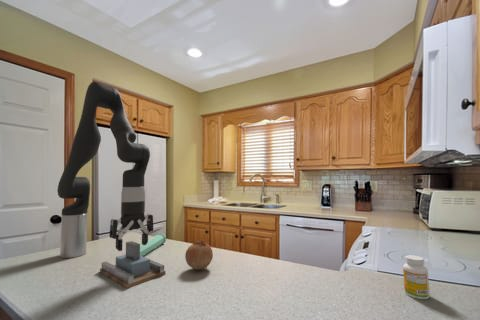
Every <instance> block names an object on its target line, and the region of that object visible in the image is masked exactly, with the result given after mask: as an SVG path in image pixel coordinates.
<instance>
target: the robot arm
mask: <svg viewBox="0 0 480 320" xmlns="http://www.w3.org/2000/svg"><path fill="white" fill-rule="evenodd" d="M84 96H85V97H84V101H83V106H82V111H81V116H80V119H79V123H78V126H77V130H76V132H75V135H74V138H73V142H72V144H71V148H70V151H69V156H68V160H67V162H66V164H65V167H64V170H63V172H62V174H61V177H60V179H59V181H58V185H57V196H58V197H59V198H61V199H75V201H74V202H73V203H71V204H70V205H68V206H67V205H66V206H65V207H63V208H62V209H61V221H60V222H61V227H60V248H59V249H60V250H59V251H60V252H59V253H60V254H59V255H60V256H59V257H60V258H61V259H68V258H69V259H70V258H76V257H80V256H83V255H86V254H87V243H88V241H87V239H88V238H87V237H88V211H89V210H88V209H89V207H90V206H89V205H90V194H91V182H90V179H89V178H87V177H86V176H77V175H78V173H79V172H80V171H81V169H82V168H83V167H85V165H86V164H88V163H89V162H90V161H91V160H92V159H93V158H94V157H95V156H96V155H97V153H98V151H99V148H100V145H101V141H102V136H101V133H100V130H99V126H98V125H97V124H98V123H97V122H96V111H97V108H103V109H106V110H110V111H111V113H112V117H111V118H110V120H109V121H110V122H109V129H110V131H111V133H112V135H113V138H114V140H115V142H116V143H115V144H116V155H117V157H118V159H119V160H120V161H121V162H123V163H127V164H128V163H131V164H134V165H133V167H132V168H131V169H127V170H125V171H123V173H122V190H121V193H120V194H121V197H120V199H121V200H120V201H121V203H120V204H121V206H120V218H118V219H114V218H112V219H111V220H110V226H109V235H108V236H109V238H110V239H114V240H115V249H116V250H117V251H118V252H122V251H123V242H124V241H123V237H124V236H125V234H127V233H128V231H129V232H131V231H133V230H139V231H141V244H142V245H146V244H147V243H148V240H149V233H151V232H153V231H154V215H153V214H149V213H147V214H146V215H145V212H146V211H145V208H146V202H145V201H146V191H145V175H146V171H147V168H148V165H149V162H150V157H151V152H150V148H149V147H148V146H147V145H146V144H144V143H138V142H137V143H136V140H137V135H136V132H135V129H133V126H132V125H131V122H130V121H129V119H128V117H127V114H126V110H125V106H124V105H125V104H124V103H123V99H122V97H121V93H120V92H119V90H118V89H117V88H115V87H112V86H111V85H106V84H104V83H101V82H98V81H92V82H90V84H89V85H88V86H87V89H86V92H85V95H84ZM144 222H146V225H145V224H144ZM120 224H121V226H120ZM118 226H120V227H119V229H118Z"/></svg>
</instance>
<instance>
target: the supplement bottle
mask: <svg viewBox="0 0 480 320" xmlns="http://www.w3.org/2000/svg"><path fill="white" fill-rule="evenodd" d="M402 269H403V270H402V273H403V283H404V284H403V286H404V293H405V294H406V295H407V296H408V297H410V298H414V299H418V300H428V299H429V298H430V295H431V293H430V283H429V282H430V281H429V271H428V268H427V267H426V266H425V258H423V257H421V256H418V255H413V254H412V255H410V254H409V255H405V263H404V264H403V265H402Z"/></svg>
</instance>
